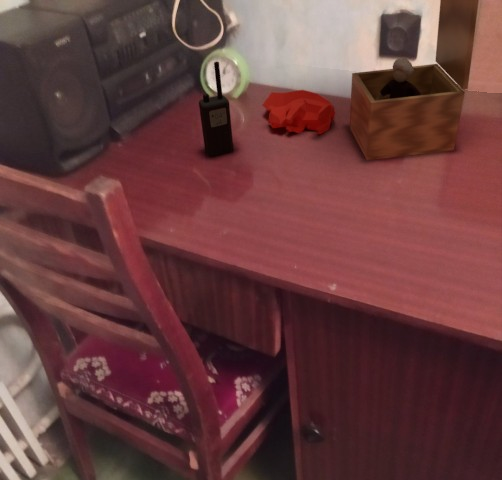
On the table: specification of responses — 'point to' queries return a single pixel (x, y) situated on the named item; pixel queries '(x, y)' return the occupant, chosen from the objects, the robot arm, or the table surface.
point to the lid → (456, 38)
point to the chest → (405, 113)
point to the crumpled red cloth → (299, 111)
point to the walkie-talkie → (216, 121)
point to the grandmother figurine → (400, 81)
